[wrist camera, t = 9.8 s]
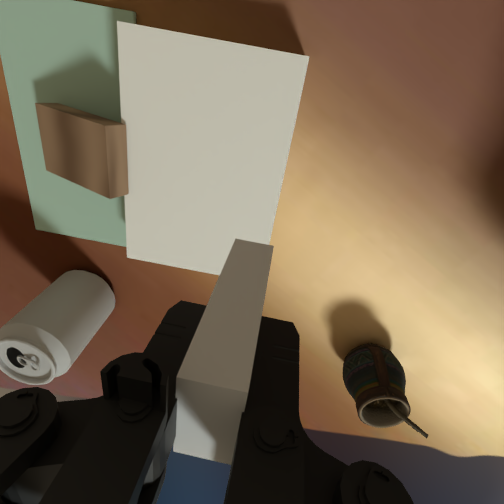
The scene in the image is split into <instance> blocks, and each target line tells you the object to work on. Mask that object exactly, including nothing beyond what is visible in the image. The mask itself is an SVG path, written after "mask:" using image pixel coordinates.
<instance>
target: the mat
mask: <svg viewBox="0 0 504 504" xmlns="http://www.w3.org/2000/svg"><path fill="white" fill-rule="evenodd" d="M117 21H121V22H126V23H132V24H136V12H133V11H127V10H122V9H117V8H111V7H106V6H100V5H95V4H90V3H84V2H79V1H74V0H0V54H1V59H2V64H3V69H4V74H5V79H6V84H7V89H8V94H9V99H10V104H11V109H12V114H13V119H14V124H15V129H16V134H17V139H18V144H19V149H20V153H21V158H22V163H23V168H24V173H25V178H26V183H27V188H28V193H29V198H30V203H31V208H32V213H33V218H34V223H35V228H36V230H42V231H47V232H52V233H57V234H63V235H68V236H73V237H78V238H83V239H89V240H94V241H99V242H104V243H109V244H115V245H120V246H125V247H127V244H126V221H125V197H124V196H120V197H116V198H113V199H108V198H106V197H104V196H102V195H100V194H97V193H95V192H93V191H91V190H89V189H86V188H84V187H82V186H80V185H77V184H75V183H73V182H71V181H69V180H66V179H64V178H62V177H60V176H58V175H55V174H53V173H51V172H49V171H46V166H45V160H44V154H43V148H42V142H41V136H40V130H39V124H38V118H37V112H36V106H35V103H59V104H62V105H65V106H69V107H72V108H75V109H78V110H81V111H84V112H88V113H91V114H94V115H97V116H100V117H103V118H107V119H110V120H113V121H116V122H119V123H121V105H120V81H119V58H118V35H117Z"/></svg>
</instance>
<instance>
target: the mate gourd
mask: <svg viewBox="0 0 504 504" xmlns="http://www.w3.org/2000/svg"><path fill="white" fill-rule="evenodd" d="M343 380H344V383H345V386H346V388H347V390H348V392H349V394H350V395H351V396H352V397H353V399H354V400H355V402H356V408H357V412H358V416H359V418H360V420H361V421H362V422H363V423H365V424H367V425H369V426H372V427H377V428H387V427H392V426H396V425H398V424H400V423H402V422H403V421H405V422H406V423H408V425H410V426H412V428H413V429H415V430H416V431H417V432H420V433H421V434H422V435H423V436H424V437H426V438H427V437H428V434H426V433H425V432H424V431H423V430H422V429H420V428H419V427H418V426H417V425H416V424H414V423H413V422H412V421H411V420H410V419H408V416H409V414H410V405H409V403H408V401H407V398H406V396H405V384H406V380H405V373H404V370H403V367H402V366H401V364H400V362H399V361H398V360H397V358H396V357H395V356H394V355H393V353H392V352H391V351H389V350H388V349H386V348H384V347H381V346H378V345H375V344H364V345H362V346H359V347H357V348H355V349H353V350H352V351H351V352H350V353H349V354H348V355H347V356H346V358H345V360H344V364H343Z"/></svg>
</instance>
